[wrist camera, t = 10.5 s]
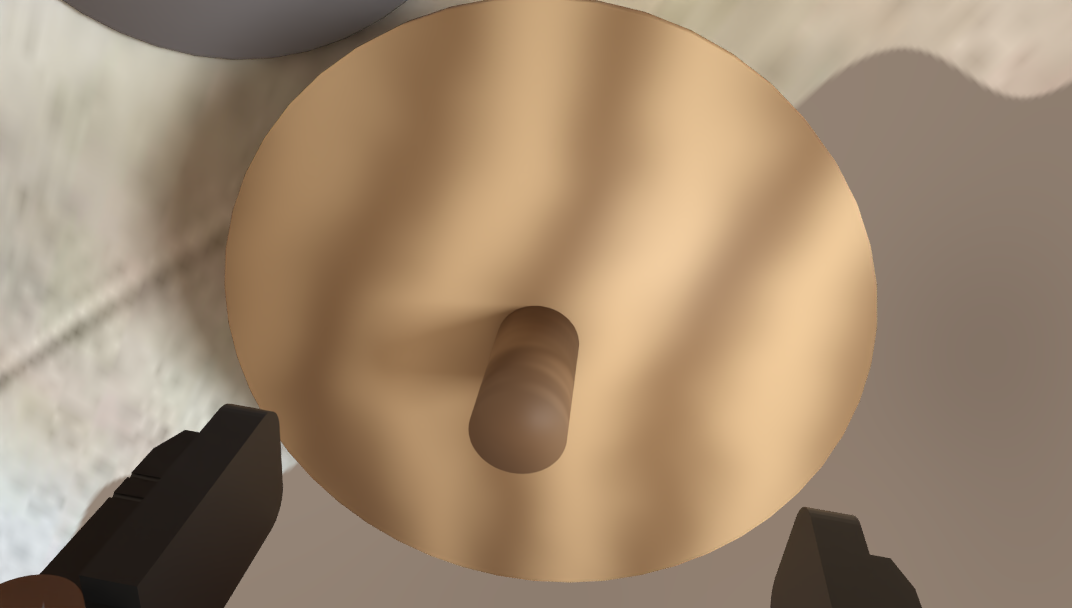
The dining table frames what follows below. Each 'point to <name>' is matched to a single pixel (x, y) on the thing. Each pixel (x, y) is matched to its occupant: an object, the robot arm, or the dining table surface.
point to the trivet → (237, 23)
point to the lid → (551, 289)
